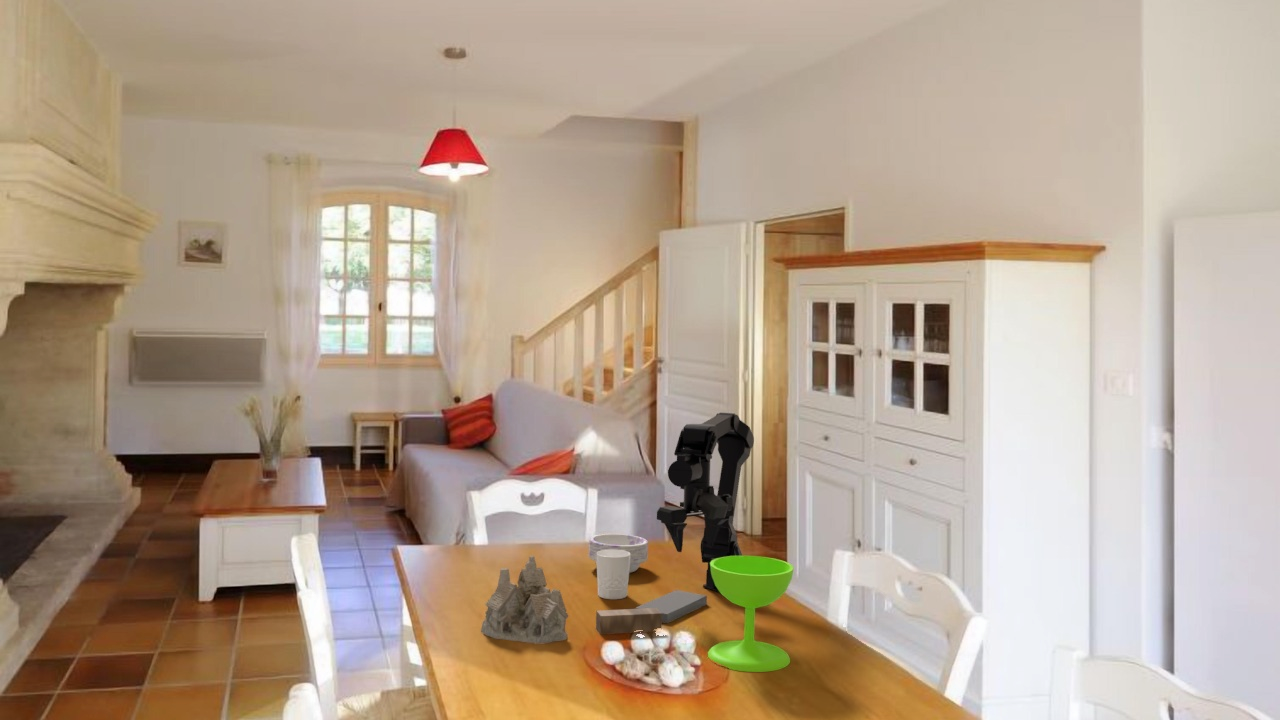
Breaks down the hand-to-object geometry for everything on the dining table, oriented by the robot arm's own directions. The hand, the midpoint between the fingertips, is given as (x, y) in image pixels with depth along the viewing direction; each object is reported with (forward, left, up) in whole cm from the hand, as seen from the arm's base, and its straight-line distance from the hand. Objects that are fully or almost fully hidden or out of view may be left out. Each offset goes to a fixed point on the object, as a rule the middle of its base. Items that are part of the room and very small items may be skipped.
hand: (694, 549), depth 230 cm
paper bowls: (-6, -36, -13) cm, 39 cm away
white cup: (+10, -17, -13) cm, 24 cm away
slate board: (+6, 0, -13) cm, 14 cm away
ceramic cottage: (+42, -5, -13) cm, 44 cm away
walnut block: (+17, +8, -11) cm, 22 cm away
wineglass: (+14, +32, -13) cm, 37 cm away
